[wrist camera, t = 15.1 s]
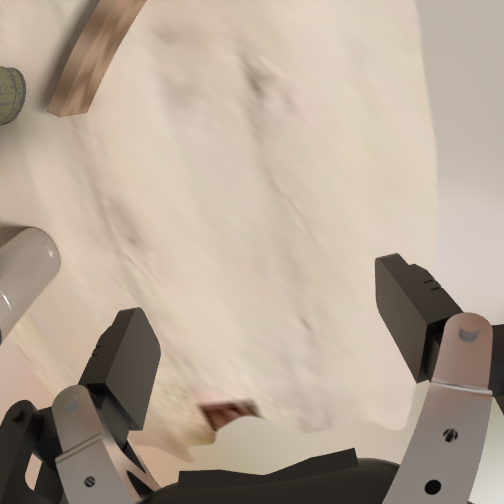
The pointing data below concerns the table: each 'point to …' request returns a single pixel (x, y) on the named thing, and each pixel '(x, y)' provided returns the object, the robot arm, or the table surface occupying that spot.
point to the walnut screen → (92, 56)
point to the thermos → (11, 94)
